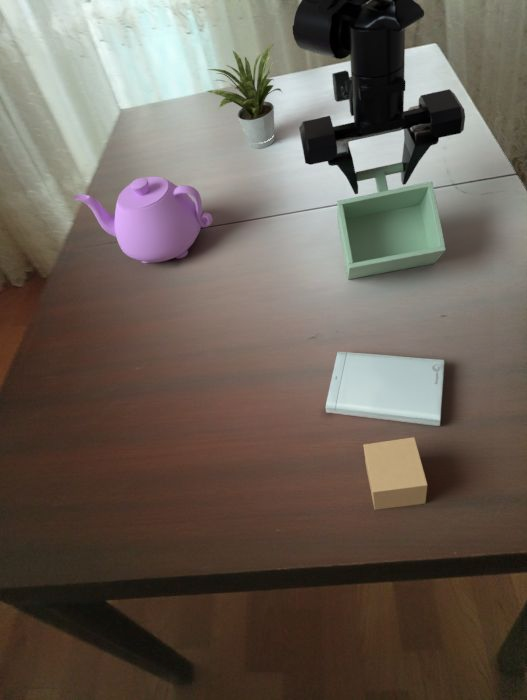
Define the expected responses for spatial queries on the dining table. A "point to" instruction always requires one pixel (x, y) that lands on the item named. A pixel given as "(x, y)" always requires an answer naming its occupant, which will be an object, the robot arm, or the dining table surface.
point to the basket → (389, 226)
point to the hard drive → (387, 388)
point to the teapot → (153, 219)
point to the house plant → (252, 100)
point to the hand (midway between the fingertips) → (379, 187)
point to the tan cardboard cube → (395, 473)
